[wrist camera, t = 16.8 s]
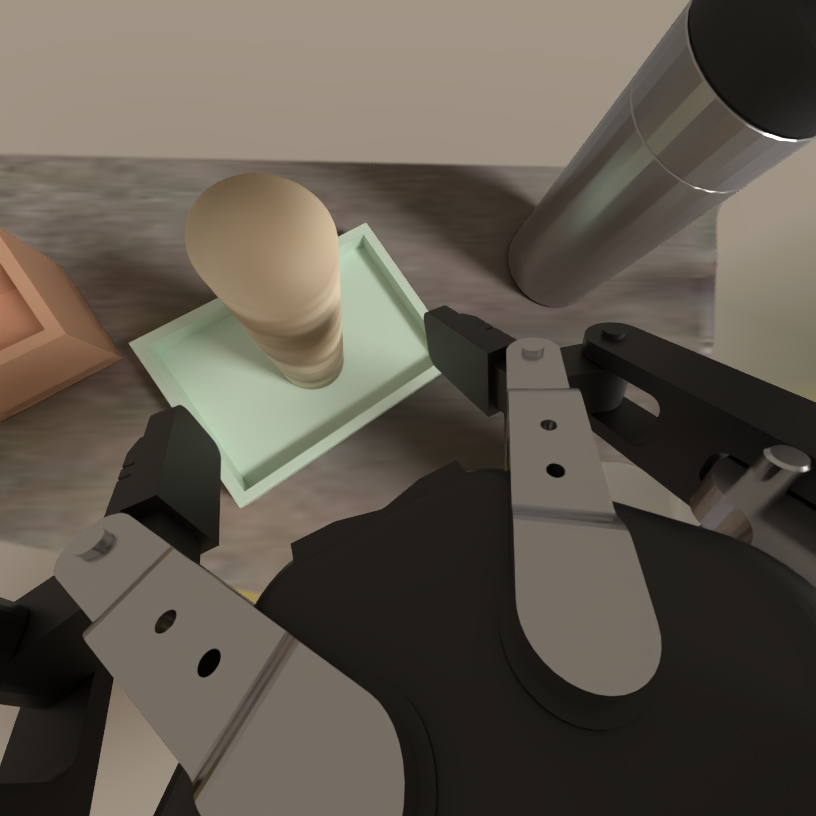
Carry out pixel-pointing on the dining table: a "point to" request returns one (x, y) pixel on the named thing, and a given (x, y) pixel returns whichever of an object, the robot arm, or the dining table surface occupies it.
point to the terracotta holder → (43, 329)
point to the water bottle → (644, 492)
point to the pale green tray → (273, 393)
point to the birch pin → (273, 270)
